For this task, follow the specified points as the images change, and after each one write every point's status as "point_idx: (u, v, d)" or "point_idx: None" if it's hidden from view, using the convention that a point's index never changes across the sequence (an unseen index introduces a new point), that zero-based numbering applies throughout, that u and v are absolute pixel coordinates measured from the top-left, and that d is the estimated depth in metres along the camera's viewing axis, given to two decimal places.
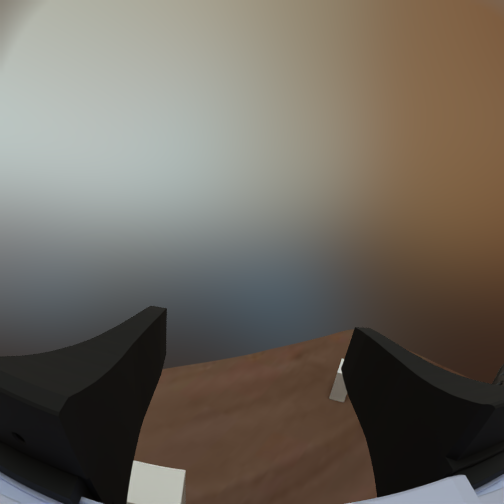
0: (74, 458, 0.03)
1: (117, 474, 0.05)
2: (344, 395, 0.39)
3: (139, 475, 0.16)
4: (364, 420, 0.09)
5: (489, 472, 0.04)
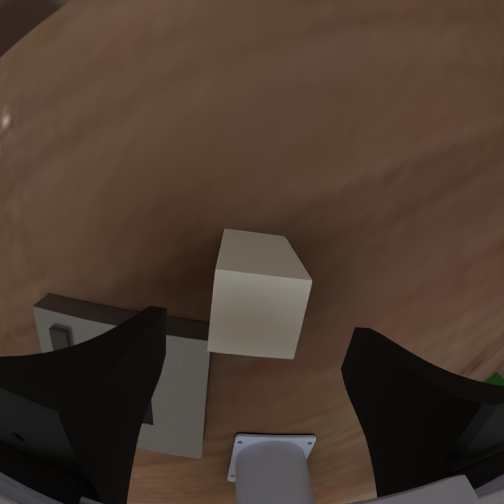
0: (74, 458, 0.03)
1: (117, 474, 0.05)
2: None
3: (232, 301, 0.13)
4: (364, 420, 0.09)
5: (489, 472, 0.04)
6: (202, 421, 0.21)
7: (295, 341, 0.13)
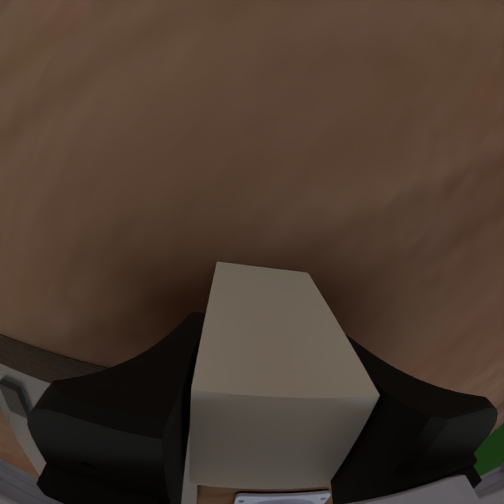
0: (160, 481, 0.04)
1: (178, 487, 0.05)
2: None
3: (229, 434, 0.06)
4: None
5: None
6: (195, 492, 0.15)
7: (334, 470, 0.06)
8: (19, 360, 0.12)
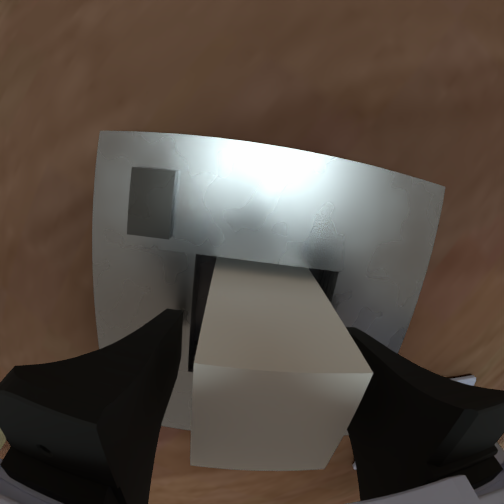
0: (106, 468, 0.03)
1: (141, 480, 0.05)
2: None
3: (228, 410, 0.06)
4: None
5: (474, 479, 0.04)
6: None
7: (331, 451, 0.07)
8: None
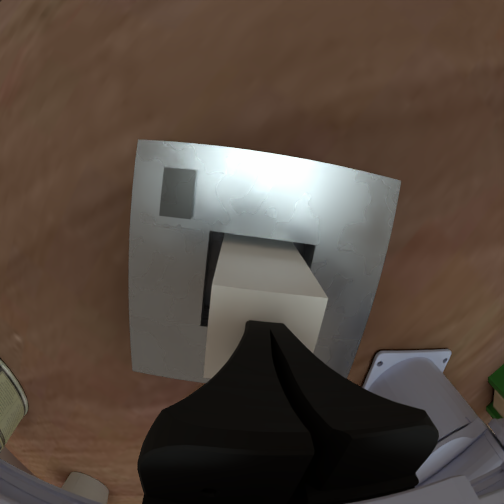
0: (285, 491, 0.04)
1: None
2: None
3: (232, 322, 0.10)
4: None
5: None
6: (366, 317, 0.17)
7: None
8: None
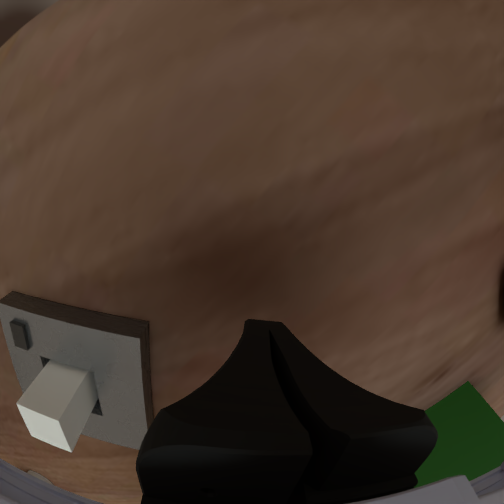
0: (284, 491, 0.04)
1: None
2: None
3: (29, 418, 0.15)
4: None
5: None
6: (144, 415, 0.22)
7: (67, 444, 0.16)
8: (26, 305, 0.20)
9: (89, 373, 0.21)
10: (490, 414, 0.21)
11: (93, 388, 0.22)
